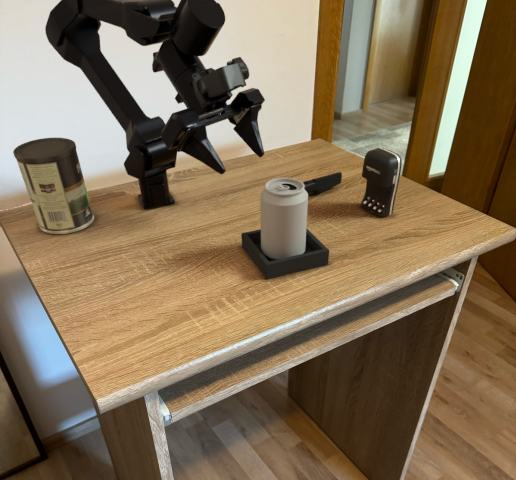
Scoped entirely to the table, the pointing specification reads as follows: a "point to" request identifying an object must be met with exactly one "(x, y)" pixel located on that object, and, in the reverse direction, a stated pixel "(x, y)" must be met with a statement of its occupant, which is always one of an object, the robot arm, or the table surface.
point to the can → (283, 218)
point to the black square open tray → (271, 268)
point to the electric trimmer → (322, 183)
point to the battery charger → (381, 180)
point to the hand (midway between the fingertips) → (243, 164)
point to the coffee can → (55, 184)
